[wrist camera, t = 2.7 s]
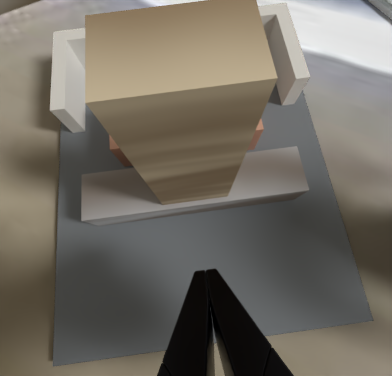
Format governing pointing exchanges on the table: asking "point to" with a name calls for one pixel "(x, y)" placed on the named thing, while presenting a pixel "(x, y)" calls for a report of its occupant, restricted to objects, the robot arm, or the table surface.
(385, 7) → the hard drive
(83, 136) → the board
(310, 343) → the table surface
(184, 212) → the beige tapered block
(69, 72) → the tray
